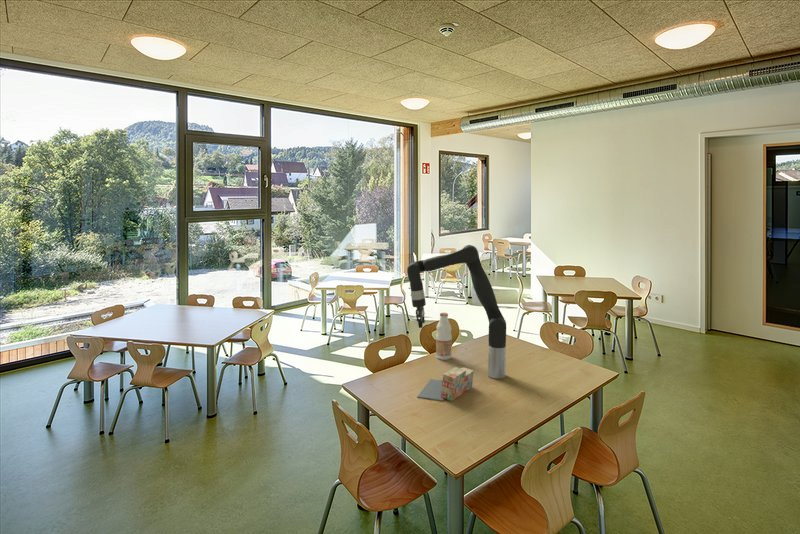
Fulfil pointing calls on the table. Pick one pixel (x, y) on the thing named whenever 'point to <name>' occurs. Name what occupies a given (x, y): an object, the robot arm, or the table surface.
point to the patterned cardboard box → (456, 382)
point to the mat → (432, 390)
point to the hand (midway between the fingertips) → (421, 325)
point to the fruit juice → (443, 338)
